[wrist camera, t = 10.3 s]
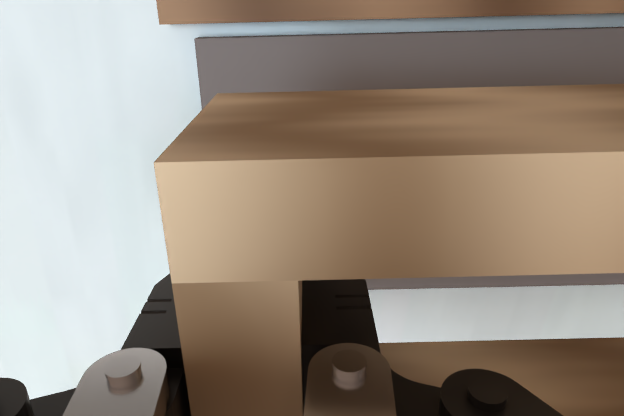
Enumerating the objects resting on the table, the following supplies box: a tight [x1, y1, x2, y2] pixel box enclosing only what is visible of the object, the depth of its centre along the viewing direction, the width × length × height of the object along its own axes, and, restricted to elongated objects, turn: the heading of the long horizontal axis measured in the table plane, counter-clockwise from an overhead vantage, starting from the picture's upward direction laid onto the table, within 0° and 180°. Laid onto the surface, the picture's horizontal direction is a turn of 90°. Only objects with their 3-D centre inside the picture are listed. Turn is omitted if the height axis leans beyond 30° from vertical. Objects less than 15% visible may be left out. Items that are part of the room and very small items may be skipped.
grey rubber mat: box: [194, 27, 624, 290], centre depth 19 cm, size 22×10×1 cm, turn 91°
